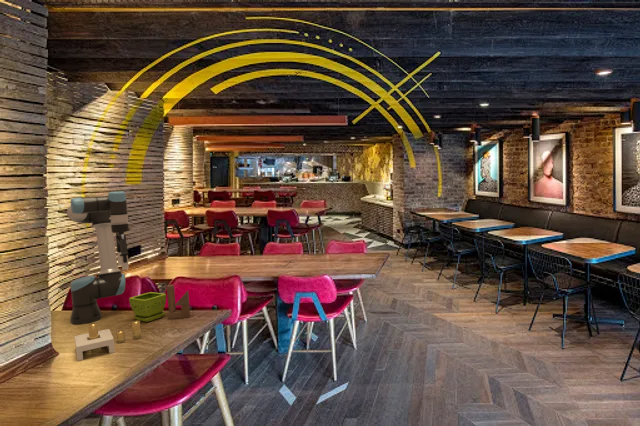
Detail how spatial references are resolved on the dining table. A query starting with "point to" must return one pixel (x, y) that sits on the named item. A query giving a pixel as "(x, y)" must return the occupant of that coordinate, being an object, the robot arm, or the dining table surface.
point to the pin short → (120, 336)
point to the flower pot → (145, 311)
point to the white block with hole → (94, 342)
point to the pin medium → (136, 329)
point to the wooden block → (177, 304)
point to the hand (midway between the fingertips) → (123, 267)
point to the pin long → (93, 334)
